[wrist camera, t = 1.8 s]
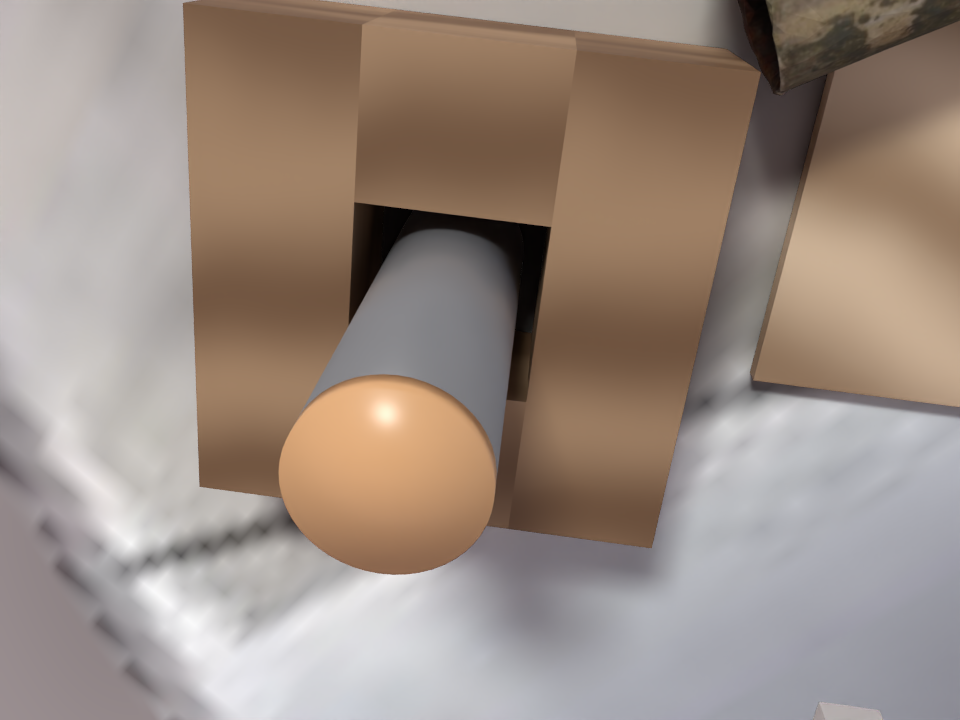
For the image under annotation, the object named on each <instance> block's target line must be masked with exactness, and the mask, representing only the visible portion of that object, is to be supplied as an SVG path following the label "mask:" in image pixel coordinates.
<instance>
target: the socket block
mask: <svg viewBox="0 0 960 720" xmlns="http://www.w3.org/2000/svg"><path fill="white" fill-rule="evenodd" d="M183 17H184V46H185V75H186V104H187V133H188V162H189V191H190V220H191V249H192V278H193V307H194V336H195V365H196V394H197V424H198V453H199V482H200V487H206V488H213V489H220V490H228V491H235V492H242V493H250V494H257V495H264V496H272V497H279V498H282V494H281V490H280V485H279V461H280V456H281V452H282V448H283V446H284V444H285V441H286V439H287V437H288V435H289V433H290V431H291V430H292V428H293V426H294V424H295V422H296V421H297V419H298V417H299V415H300V413H301V411H302V410H303V408H304V406H305V404H306V402H307V401H308V399H309V397H310V395H311V393H312V392H313V390H314V388H315V386H316V384H317V382H318V381H319V379H320V377H321V375H322V373H323V372H324V370H325V368H326V366H327V364H328V362H329V361H330V359H331V357H332V355H333V353H334V352H335V350H336V348H337V346H338V344H339V343H340V341H341V339H342V337H343V335H344V333H345V332H346V330H347V328H348V326H349V324H350V323H351V321H352V319H353V317H354V315H355V313H356V312H357V310H358V308H359V306H360V304H361V303H362V301H363V299H364V297H365V295H366V294H367V292H368V290H369V288H370V286H371V284H372V283H373V281H374V279H375V277H376V275H377V274H378V272H379V270H380V268H381V259H382V243H383V226H384V210H385V206H389V207H397V208H405V209H413V210H421V211H429V212H436V213H444V214H452V215H460V216H468V217H476V218H484V219H492V220H500V221H508V222H516V223H524V224H532V225H540V226H547V228H546V235H545V242H544V250H543V257H542V264H541V271H540V278H539V285H538V292H537V299H536V306H535V313H534V320H533V327H532V333H528V332H520V331H515V332H514V340H513V349H512V357H511V365H510V373H509V382H508V390H507V398H506V406H505V415H504V423H503V431H502V439H501V447H500V456H499V464H498V472H497V480H496V489H495V497H494V503H493V508H492V513H491V515H490V518H489V521H488V523H487V525H486V526H492V527H499V528H507V529H514V530H521V531H529V532H536V533H543V534H551V535H558V536H565V537H573V538H580V539H587V540H595V541H602V542H609V543H617V544H624V545H631V546H639V547H646V548H652V544H653V540H654V536H655V531H656V527H657V523H658V518H659V514H660V510H661V505H662V501H663V497H664V492H665V488H666V483H667V479H668V475H669V470H670V466H671V462H672V457H673V453H674V449H675V444H676V440H677V436H678V431H679V427H680V423H681V418H682V414H683V410H684V405H685V401H686V396H687V392H688V388H689V383H690V379H691V375H692V370H693V366H694V362H695V357H696V353H697V349H698V344H699V340H700V336H701V331H702V327H703V323H704V318H705V314H706V309H707V305H708V301H709V296H710V292H711V288H712V283H713V279H714V275H715V270H716V266H717V262H718V257H719V253H720V249H721V244H722V240H723V235H724V231H725V227H726V222H727V218H728V214H729V209H730V205H731V201H732V196H733V192H734V188H735V183H736V179H737V175H738V170H739V166H740V162H741V157H742V153H743V148H744V144H745V140H746V135H747V131H748V127H749V122H750V118H751V114H752V109H753V105H754V101H755V96H756V92H757V88H758V83H759V79H760V74H761V72H760V71H758V70H757V69H755V68H754V67H752V66H751V65H749V64H748V63H746V62H745V61H744V60H742V59H741V58H739V57H738V56H736V55H735V54H733V53H732V52H730V51H729V50H727V49H723V48H714V47H706V46H698V45H689V44H681V43H672V42H664V41H656V40H647V39H639V38H631V37H622V36H614V35H605V34H597V33H589V32H580V31H572V30H563V29H555V28H547V27H538V26H530V25H521V24H513V23H505V22H496V21H488V20H480V19H471V18H463V17H454V16H446V15H438V14H429V13H421V12H412V11H404V10H396V9H387V8H379V7H371V6H362V5H354V4H345V3H337V2H329V1H320V0H198V1H192V2H186V3H183Z"/></svg>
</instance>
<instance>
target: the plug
mask: <svg viewBox="0 0 960 720" xmlns="http://www.w3.org/2000/svg"><path fill="white" fill-rule="evenodd" d="M523 258H524V241H523V237H522V233H521V230H520V227H519V225H518V223H516V222H508V221H500V220H492V219H484V218H476V217H468V216H460V215H452V214H444V213H436V212H429V211H421V210H413V211H412V213H411V214H410V216H409V218H408V219H407V221H406V223H405V225H404V226H403V228H402V230H401V232H400V234H399V235H398V237H397V239H396V241H395V243H394V245H393V246H392V248H391V250H390V252H389V254H388V255H387V257H386V259H385V261H384V263H383V264H382V266H381V268H380V270H379V272H378V274H377V275H376V277H375V279H374V281H373V283H372V284H371V286H370V288H369V290H368V292H367V294H366V295H365V297H364V299H363V301H362V303H361V304H360V306H359V308H358V310H357V312H356V313H355V315H354V317H353V319H352V321H351V323H350V324H349V326H348V328H347V330H346V332H345V333H344V335H343V337H342V339H341V341H340V343H339V344H338V346H337V348H336V350H335V352H334V353H333V355H332V357H331V359H330V361H329V362H328V364H327V366H326V368H325V370H324V372H323V373H322V375H321V377H320V379H319V381H318V382H317V384H316V386H315V388H314V390H313V392H312V393H311V395H310V397H309V399H308V401H307V402H306V404H305V406H304V408H303V410H302V411H301V413H300V415H299V417H298V419H297V421H296V422H295V424H294V426H293V428H292V430H291V431H290V433H289V435H288V437H287V439H286V441H285V444H284V446H283V448H282V452H281V456H280V461H279V485H280V490H281V494H282V498H283V500H284V503H285V506H286V508H287V510H288V512H289V514H290V516H291V518H292V519H293V521H294V522H295V524H296V525H297V526H298V528H299V529H300V530H301V531H302V533H303V534H304V535H305V536H306V537H307V538H308V539H309V540H310V541H311V542H312V543H313V544H315V545H316V546H317V547H318V548H319V549H321V550H322V551H324V552H325V553H327V554H328V555H330V556H331V557H333V558H335V559H337V560H339V561H340V562H343V563H345V564H348V565H350V566H352V567H355V568H358V569H362V570H365V571H370V572H375V573H381V574H392V575H396V574H412V573H420V572H424V571H428V570H432V569H434V568H437V567H440V566H442V565H445V564H447V563H449V562H450V561H452V560H454V559H456V558H457V557H459V556H460V555H461V554H463V553H464V552H466V551H467V550H468V549H469V548H470V547H471V546H472V545H473V544H474V543H475V542H476V540H477V539H478V538H479V537H480V535H481V534H482V532H483V530H484V529H485V527H486V525H487V523H488V521H489V518H490V515H491V513H492V508H493V503H494V497H495V489H496V480H497V472H498V464H499V456H500V447H501V439H502V431H503V423H504V415H505V406H506V398H507V390H508V382H509V373H510V365H511V357H512V349H513V340H514V332H515V324H516V316H517V307H518V299H519V291H520V283H521V275H522V266H523Z"/></svg>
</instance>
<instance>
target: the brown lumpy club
mask: <svg viewBox="0 0 960 720" xmlns="http://www.w3.org/2000/svg"><path fill="white" fill-rule="evenodd" d="M738 3H739V6H740V10H741V13H742V17H743V23H744V29H745V32H746V35H747V37H748V40H749V43H750V46H751V48H752V50H753V52H754V54H755V55H756V57H757V60H758V63H759V66H760V69H761V71H762V73H763V74H764V76H765V78H766V79H767V81H768V82H769V84H770V86H771V89H772V91H773V94H777V95H783V94H785V93H786V92H787V91H788V90H790V89H792V88H795V87H797V86H800V85H802V84H804V83H807V82H809V81H811V80H814V79H816V78H818V77H821V76H823V75H826V74H828V73H831V72H833V71H836V70H838V69H841V68H843V67H846V66H848V65H851V64H853V63H855V62H858V61H860V60H863V59H865V58H868V57H870V56H872V55H875V54H877V53H879V52H882V51H884V50H887V49H889V48H892V47H894V46H897V45H899V44H902V43H905V42H907V41H910V40H912V39H915V38H918V37H920V36H923V35H925V34H928V33H930V32H933V31H935V30H938V29H940V28H943V27H945V26H948V25H950V24H953V23H955V22H958V21H960V0H738Z"/></svg>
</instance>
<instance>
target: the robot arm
mask: <svg viewBox="0 0 960 720" xmlns="http://www.w3.org/2000/svg"><path fill="white" fill-rule="evenodd" d="M813 720H883V718H882V716H881V714H880V711H879V710H876V709H868V708H861V707H854V706H847V705H840V704H832V703H825V702H819V703H818V706H817V709H816V712H815V715H814V718H813Z"/></svg>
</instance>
